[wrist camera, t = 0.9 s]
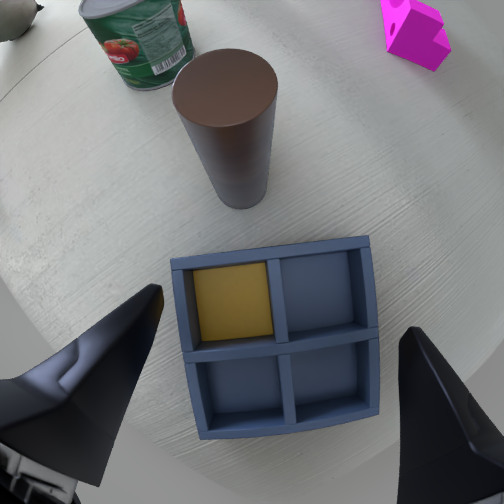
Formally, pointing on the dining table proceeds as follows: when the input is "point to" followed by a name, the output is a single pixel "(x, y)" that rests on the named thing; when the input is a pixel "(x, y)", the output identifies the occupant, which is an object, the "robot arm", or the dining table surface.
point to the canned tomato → (141, 38)
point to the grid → (279, 337)
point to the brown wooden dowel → (230, 120)
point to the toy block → (415, 32)
